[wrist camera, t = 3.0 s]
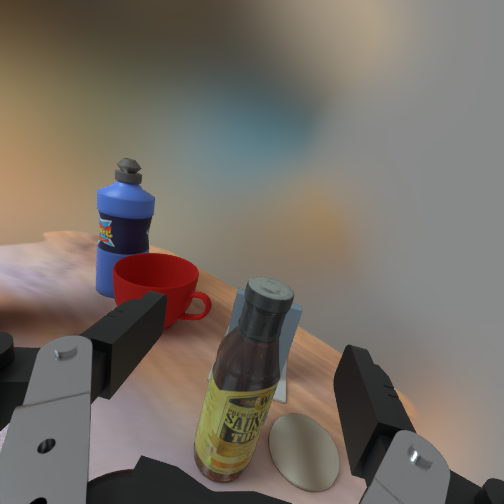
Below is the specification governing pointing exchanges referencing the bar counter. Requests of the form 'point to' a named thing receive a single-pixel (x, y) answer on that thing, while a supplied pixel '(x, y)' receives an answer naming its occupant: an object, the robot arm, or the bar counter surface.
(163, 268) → the ceramic cup
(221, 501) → the robot arm
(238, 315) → the tile
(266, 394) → the sauce bottle
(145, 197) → the water bottle
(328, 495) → the bar counter surface
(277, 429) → the coaster
